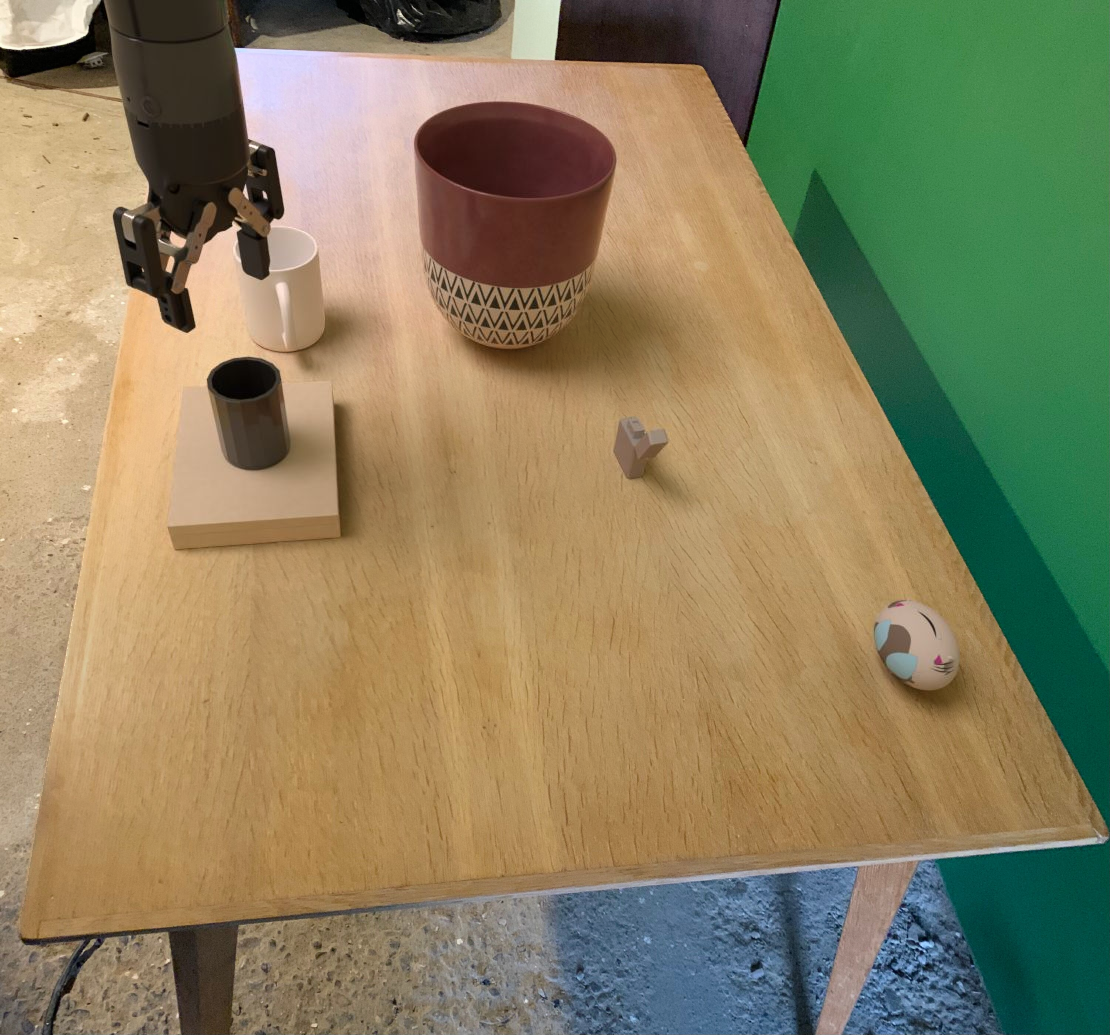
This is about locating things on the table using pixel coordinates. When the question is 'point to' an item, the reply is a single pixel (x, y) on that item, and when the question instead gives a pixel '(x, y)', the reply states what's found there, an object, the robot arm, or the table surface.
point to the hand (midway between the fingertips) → (220, 300)
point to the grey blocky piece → (636, 446)
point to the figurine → (916, 645)
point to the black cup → (249, 412)
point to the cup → (284, 293)
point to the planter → (510, 217)
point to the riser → (255, 477)
